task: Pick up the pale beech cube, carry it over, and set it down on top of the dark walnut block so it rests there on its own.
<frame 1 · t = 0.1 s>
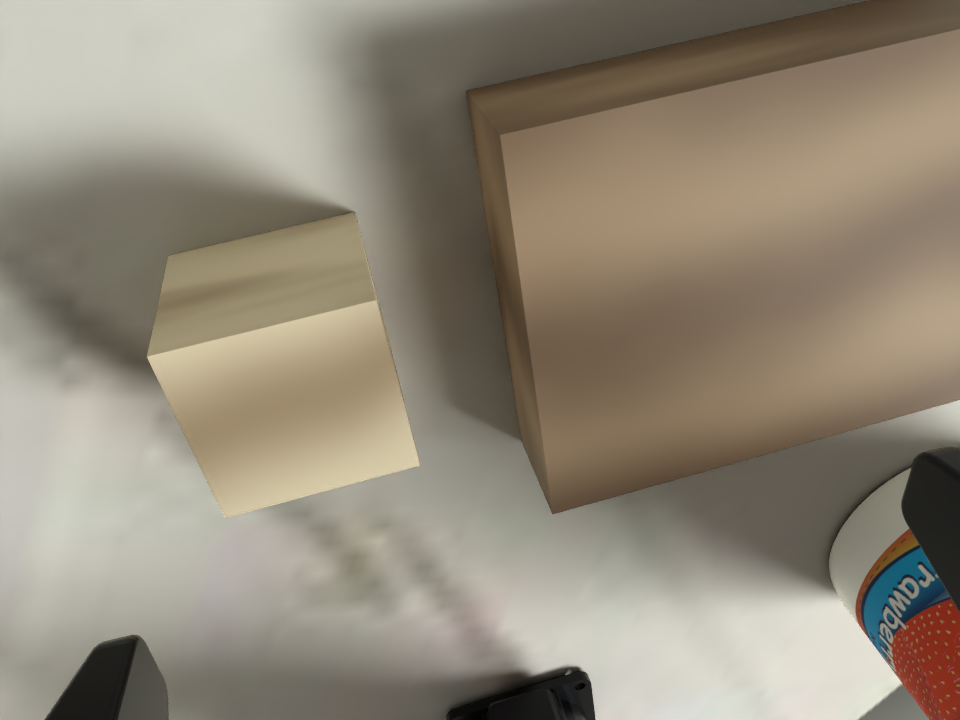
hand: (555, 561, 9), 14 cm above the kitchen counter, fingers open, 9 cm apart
walnut block: (710, 230, 25), on the kitchen counter
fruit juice: (916, 523, 35), on the kitchen counter
beech cube: (289, 310, 23), on the kitchen counter
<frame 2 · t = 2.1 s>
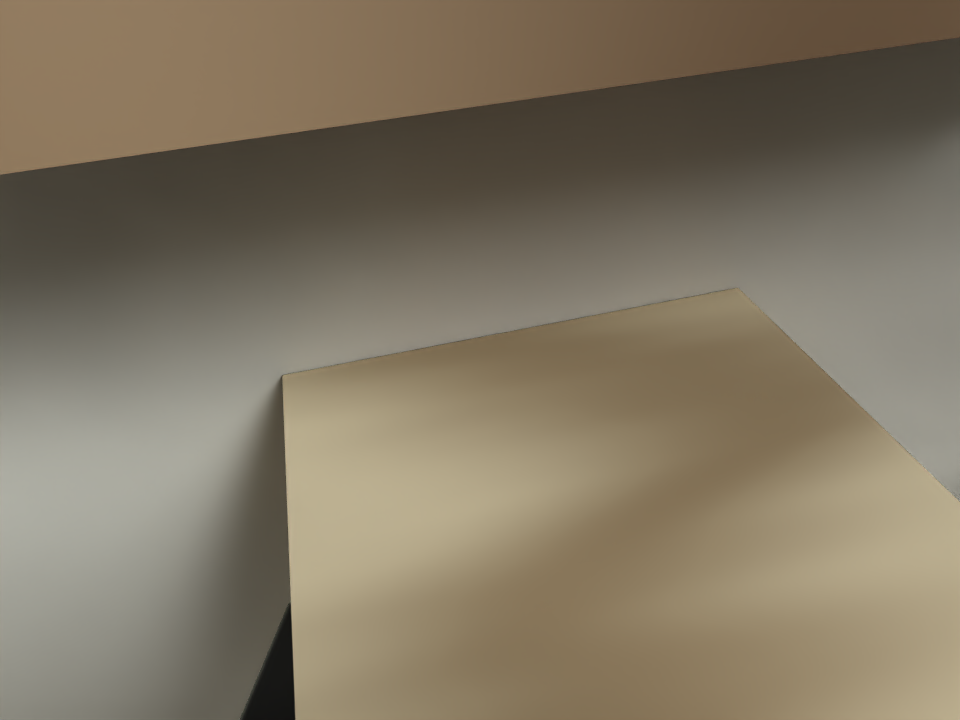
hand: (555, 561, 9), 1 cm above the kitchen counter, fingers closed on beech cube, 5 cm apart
beech cube: (529, 499, 10), on the kitchen counter, touching gripper
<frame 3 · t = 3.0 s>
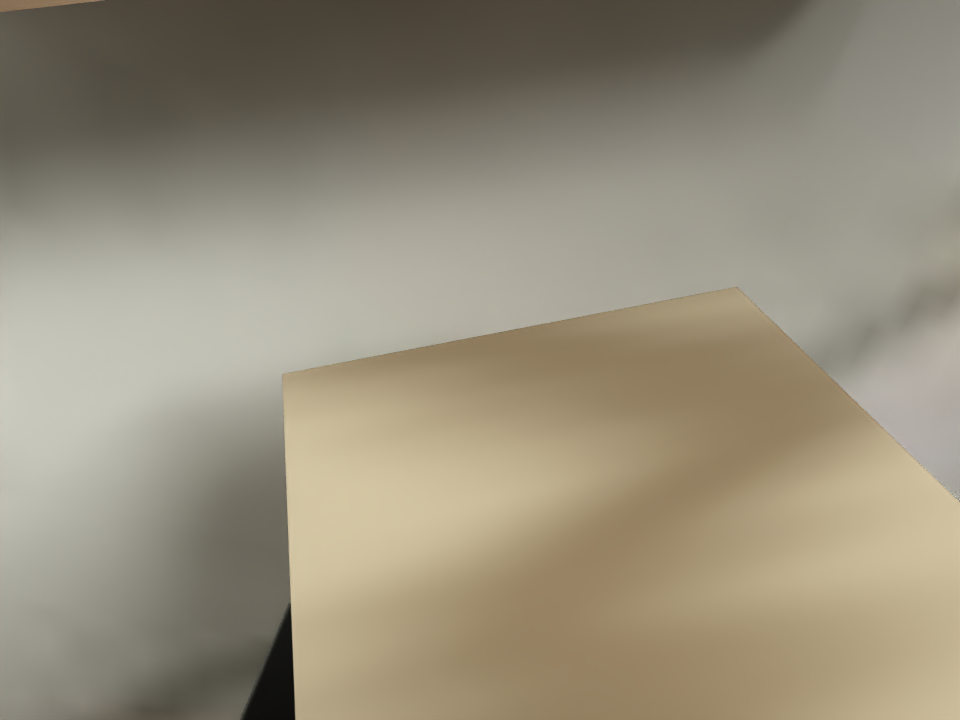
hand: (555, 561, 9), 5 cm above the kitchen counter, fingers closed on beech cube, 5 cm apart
beech cube: (529, 498, 10), point 4 cm above the kitchen counter, touching gripper
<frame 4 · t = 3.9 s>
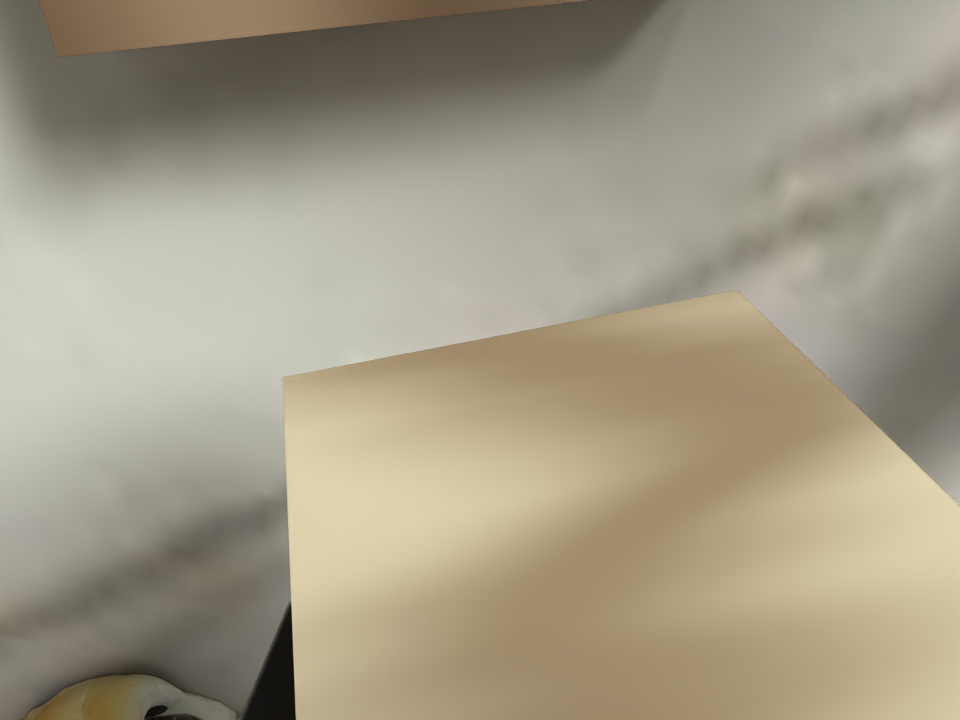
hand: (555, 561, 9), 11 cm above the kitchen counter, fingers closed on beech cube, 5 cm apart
beech cube: (529, 501, 10), point 10 cm above the kitchen counter, touching gripper
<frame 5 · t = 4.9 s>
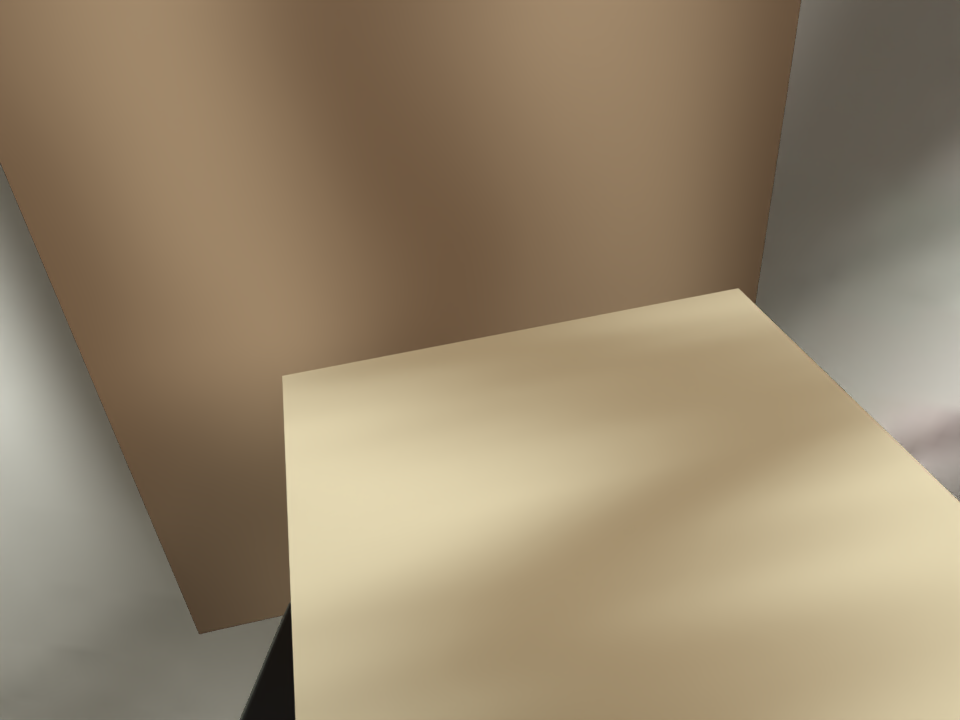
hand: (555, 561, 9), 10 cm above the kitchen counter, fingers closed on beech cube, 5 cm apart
walnut block: (410, 211, 17), on the kitchen counter
beech cube: (530, 500, 10), point 9 cm above the kitchen counter, touching gripper
when the fingers open (6 cm above the kitchen counter, at t = 5.8 s): beech cube drops 2 cm, point 3 cm above the kitchen counter.
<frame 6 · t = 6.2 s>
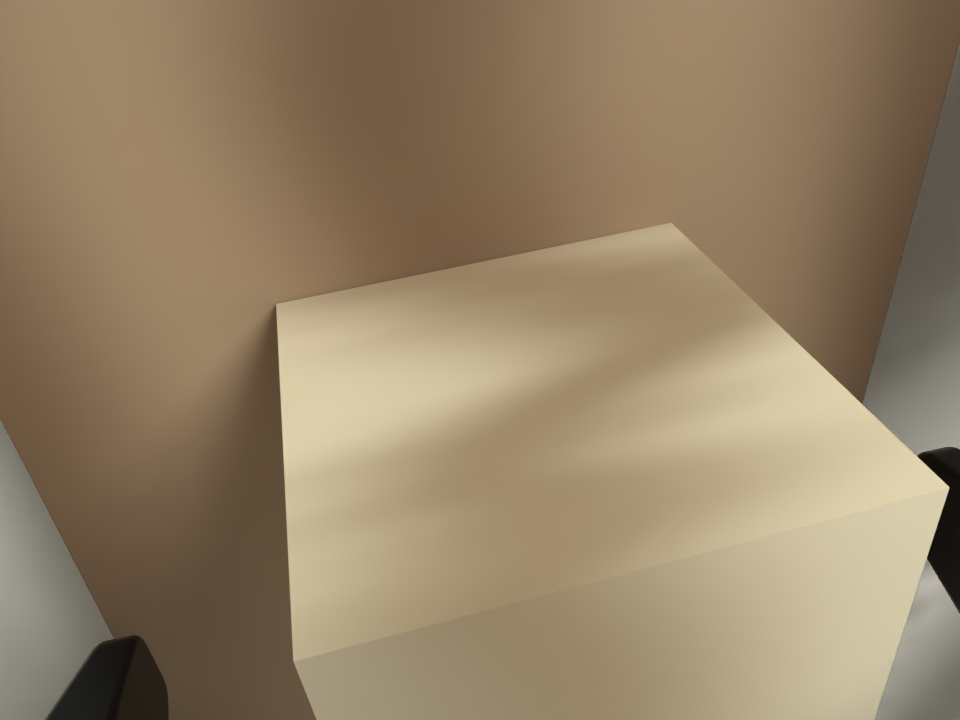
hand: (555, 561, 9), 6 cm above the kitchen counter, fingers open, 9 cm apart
walnut block: (442, 284, 14), on the kitchen counter
beech cube: (498, 419, 11), point 3 cm above the kitchen counter
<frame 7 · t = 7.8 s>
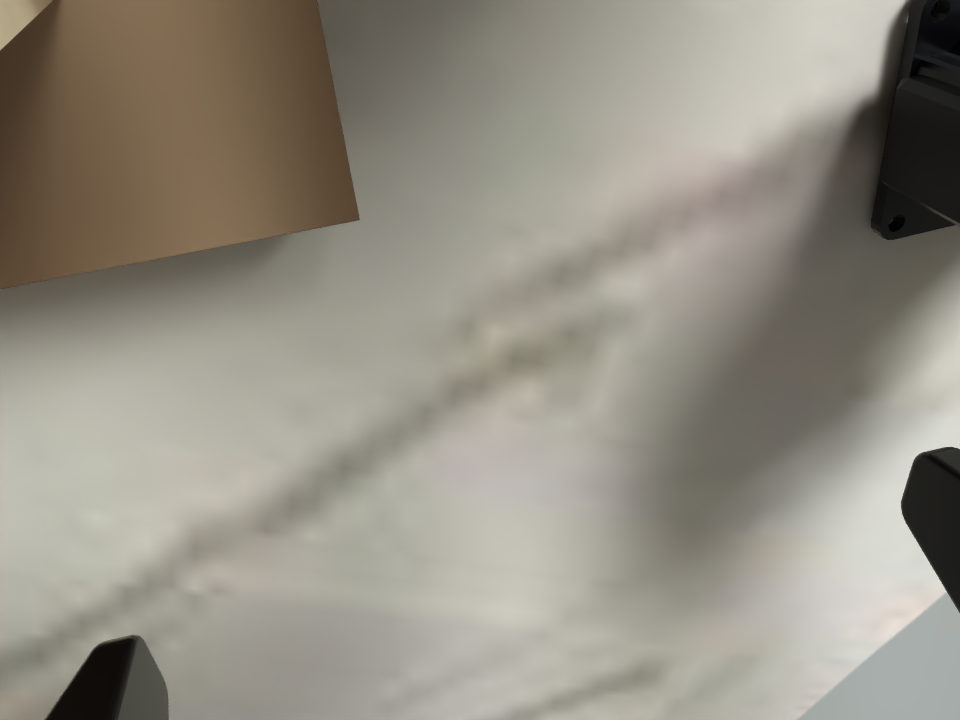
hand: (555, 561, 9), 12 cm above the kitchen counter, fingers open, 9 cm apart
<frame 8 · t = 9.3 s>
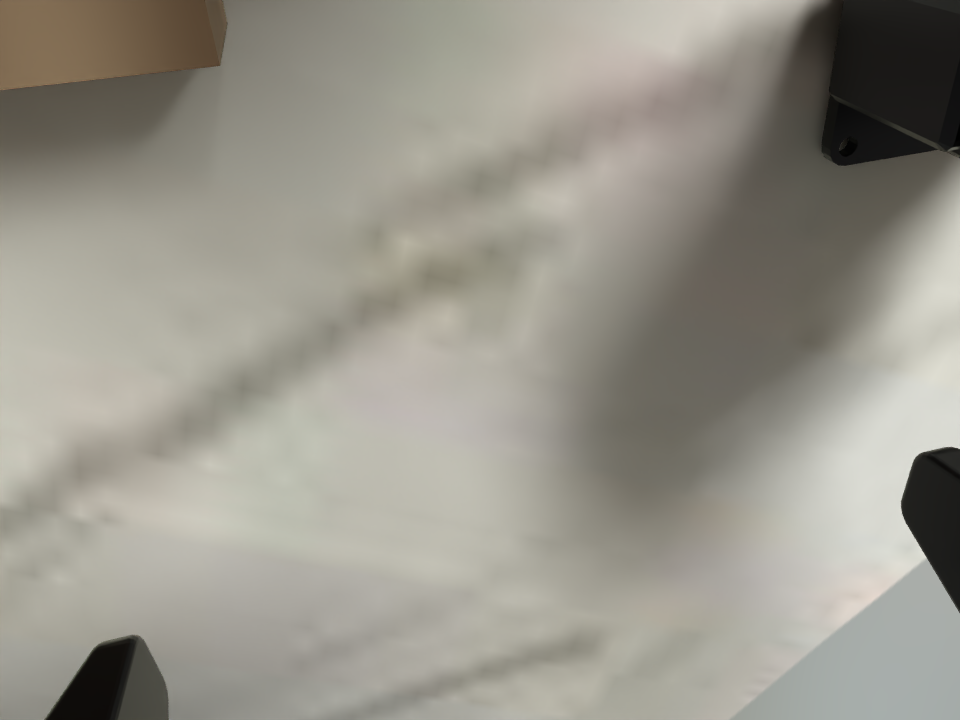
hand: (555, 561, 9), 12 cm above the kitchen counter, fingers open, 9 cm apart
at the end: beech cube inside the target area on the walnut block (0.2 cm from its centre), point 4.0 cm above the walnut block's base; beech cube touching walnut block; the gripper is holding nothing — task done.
